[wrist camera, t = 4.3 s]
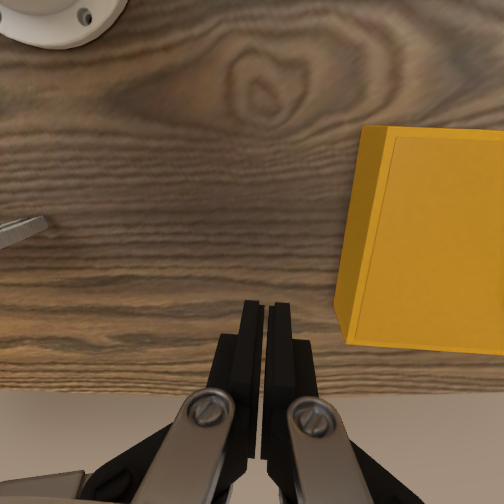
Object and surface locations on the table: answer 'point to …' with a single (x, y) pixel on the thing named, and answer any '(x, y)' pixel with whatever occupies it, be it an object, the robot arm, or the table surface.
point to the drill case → (425, 241)
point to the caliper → (21, 230)
